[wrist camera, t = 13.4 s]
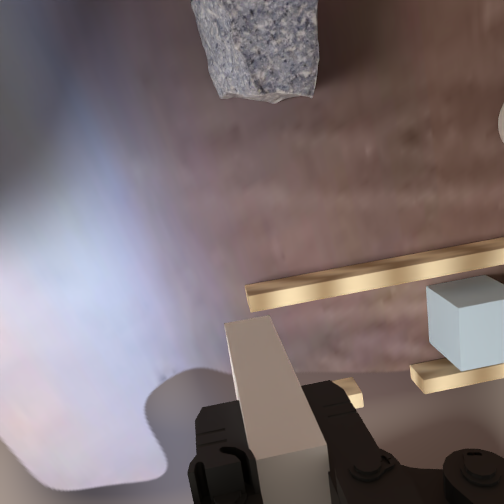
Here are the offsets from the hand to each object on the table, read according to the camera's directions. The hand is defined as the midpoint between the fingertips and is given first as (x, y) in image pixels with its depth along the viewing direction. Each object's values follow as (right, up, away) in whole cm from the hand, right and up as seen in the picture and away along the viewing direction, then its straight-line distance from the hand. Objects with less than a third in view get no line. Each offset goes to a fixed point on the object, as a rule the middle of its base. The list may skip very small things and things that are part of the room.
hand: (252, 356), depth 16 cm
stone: (0, +20, +23) cm, 31 cm away
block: (+20, -2, +31) cm, 37 cm away
